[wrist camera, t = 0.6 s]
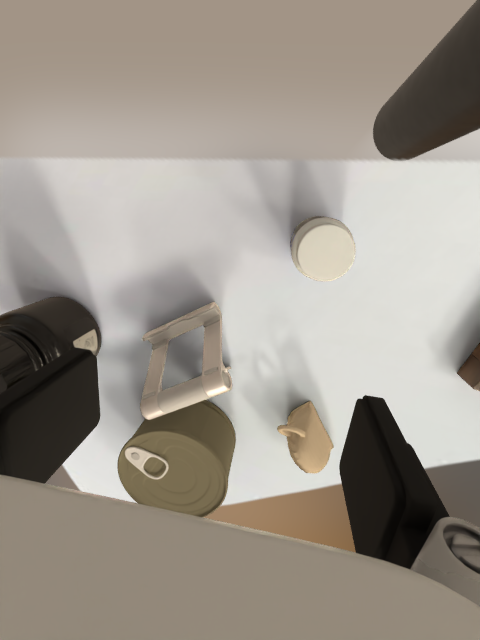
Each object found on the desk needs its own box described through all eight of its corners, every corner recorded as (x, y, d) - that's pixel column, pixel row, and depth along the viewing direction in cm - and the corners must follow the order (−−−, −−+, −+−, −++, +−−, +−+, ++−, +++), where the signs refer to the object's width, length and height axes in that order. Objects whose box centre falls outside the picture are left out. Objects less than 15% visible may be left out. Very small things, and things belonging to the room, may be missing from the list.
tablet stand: (215, 299, 32) (192, 326, 25) (247, 361, 34) (236, 405, 26) (149, 330, 35) (109, 363, 27) (183, 387, 37) (154, 434, 29)
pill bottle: (281, 231, 29) (279, 238, 21) (329, 206, 28) (345, 203, 20) (302, 275, 30) (308, 297, 22) (349, 253, 29) (372, 268, 21)
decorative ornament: (301, 456, 37) (303, 493, 32) (273, 400, 35) (271, 431, 30) (333, 447, 36) (341, 484, 31) (307, 389, 34) (310, 419, 29)
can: (206, 486, 41) (191, 537, 35) (130, 439, 40) (100, 482, 34) (256, 428, 37) (249, 474, 31) (171, 375, 36) (146, 410, 30)
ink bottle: (67, 378, 39) (-23, 446, 27) (17, 322, 37) (-100, 370, 26) (120, 341, 36) (44, 399, 25) (69, 278, 34) (-38, 310, 23)
